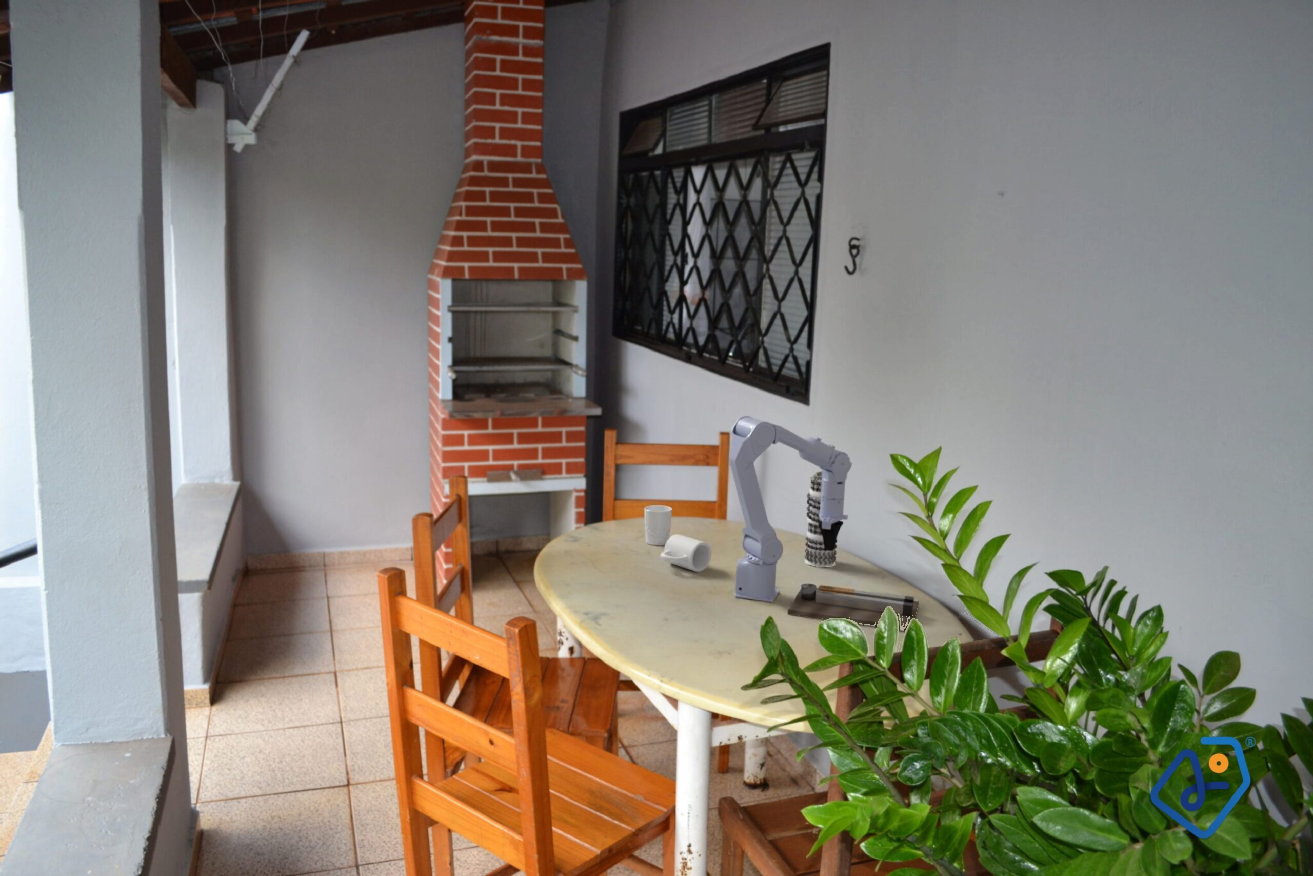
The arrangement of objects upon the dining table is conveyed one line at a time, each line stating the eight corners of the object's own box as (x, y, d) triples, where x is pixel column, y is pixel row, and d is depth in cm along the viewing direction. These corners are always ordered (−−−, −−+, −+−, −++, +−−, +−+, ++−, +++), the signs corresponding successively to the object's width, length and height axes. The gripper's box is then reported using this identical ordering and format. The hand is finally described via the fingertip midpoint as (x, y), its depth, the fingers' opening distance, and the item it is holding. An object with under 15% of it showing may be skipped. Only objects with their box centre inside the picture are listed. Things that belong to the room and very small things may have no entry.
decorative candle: (820, 556, 271) (825, 468, 267) (844, 565, 264) (850, 474, 259) (796, 561, 266) (800, 471, 262) (819, 570, 259) (825, 478, 254)
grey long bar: (815, 602, 231) (816, 592, 230) (817, 600, 232) (817, 590, 232) (911, 616, 223) (912, 605, 223) (912, 613, 225) (912, 603, 225)
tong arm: (799, 599, 232) (800, 587, 232) (802, 593, 236) (803, 582, 235) (912, 613, 224) (913, 601, 224) (913, 607, 228) (914, 596, 228)
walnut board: (787, 614, 226) (787, 609, 226) (802, 590, 243) (803, 585, 243) (911, 632, 217) (912, 627, 217) (918, 606, 234) (919, 601, 234)
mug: (684, 559, 265) (684, 531, 263) (711, 568, 258) (712, 539, 257) (652, 568, 257) (653, 539, 255) (679, 578, 250) (680, 548, 248)
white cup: (676, 541, 282) (677, 507, 280) (661, 547, 275) (662, 513, 273) (653, 536, 286) (653, 503, 284) (638, 542, 279) (639, 509, 277)
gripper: (844, 505, 235) (840, 560, 237) (853, 492, 248) (849, 544, 251) (814, 502, 237) (811, 556, 239) (825, 489, 250) (822, 540, 253)
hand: (829, 549), depth 245 cm, fingers closed
